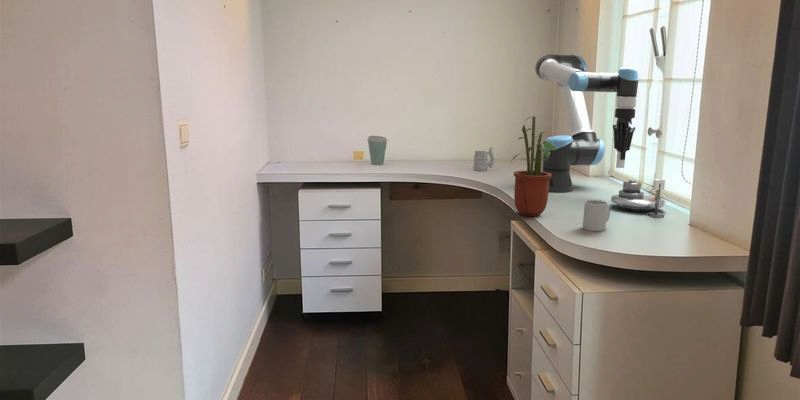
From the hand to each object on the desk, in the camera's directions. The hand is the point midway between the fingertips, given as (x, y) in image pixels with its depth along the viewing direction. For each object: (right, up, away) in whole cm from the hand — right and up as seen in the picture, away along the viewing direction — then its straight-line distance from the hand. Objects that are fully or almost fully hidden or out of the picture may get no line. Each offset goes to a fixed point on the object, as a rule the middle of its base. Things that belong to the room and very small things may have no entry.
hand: (620, 167), depth 244 cm
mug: (-44, +2, +76) cm, 88 cm away
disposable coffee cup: (-100, +6, +89) cm, 134 cm away
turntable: (+2, -14, -12) cm, 19 cm away
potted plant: (-41, -18, -23) cm, 51 cm away
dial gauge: (+4, -19, -23) cm, 30 cm away
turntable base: (+2, -16, -11) cm, 20 cm away
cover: (+1, -12, -8) cm, 14 cm away
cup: (-23, -23, -44) cm, 55 cm away
